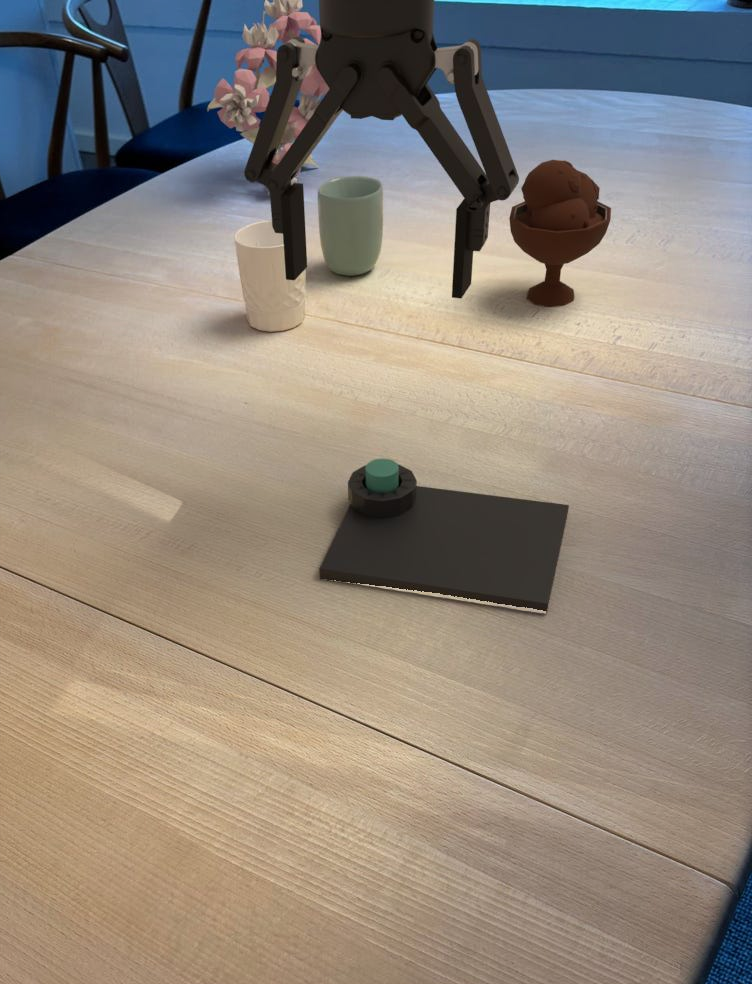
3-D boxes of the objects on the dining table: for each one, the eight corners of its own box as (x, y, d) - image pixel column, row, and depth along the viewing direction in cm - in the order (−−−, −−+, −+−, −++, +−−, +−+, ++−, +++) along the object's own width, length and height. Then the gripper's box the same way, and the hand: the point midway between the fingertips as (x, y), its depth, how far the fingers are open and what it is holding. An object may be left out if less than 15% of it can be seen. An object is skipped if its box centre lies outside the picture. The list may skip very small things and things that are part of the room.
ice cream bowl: (580, 324, 108) (601, 181, 98) (486, 306, 113) (496, 169, 103) (613, 286, 114) (635, 148, 104) (522, 271, 119) (535, 138, 109)
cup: (312, 279, 122) (308, 196, 115) (332, 255, 127) (329, 174, 120) (372, 284, 120) (371, 200, 113) (390, 259, 125) (390, 177, 118)
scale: (568, 514, 83) (572, 484, 81) (546, 615, 74) (550, 585, 72) (359, 487, 88) (358, 459, 86) (315, 579, 80) (313, 550, 77)
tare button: (401, 477, 84) (402, 460, 83) (394, 495, 83) (394, 478, 81) (370, 473, 85) (370, 456, 84) (362, 491, 83) (361, 474, 82)
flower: (163, 174, 151) (182, 15, 129) (256, 117, 161) (288, -40, 139) (259, 251, 148) (296, 101, 126) (348, 188, 158) (396, 39, 136)
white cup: (251, 304, 118) (243, 220, 112) (315, 305, 117) (310, 219, 110) (236, 334, 113) (226, 247, 106) (303, 335, 111) (298, 247, 104)
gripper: (176, -31, 64) (213, 285, 78) (562, -35, 55) (524, 320, 70) (225, -53, 69) (252, 248, 83) (588, -59, 60) (547, 278, 75)
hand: (376, 282), depth 77 cm, fingers open, 13 cm apart
